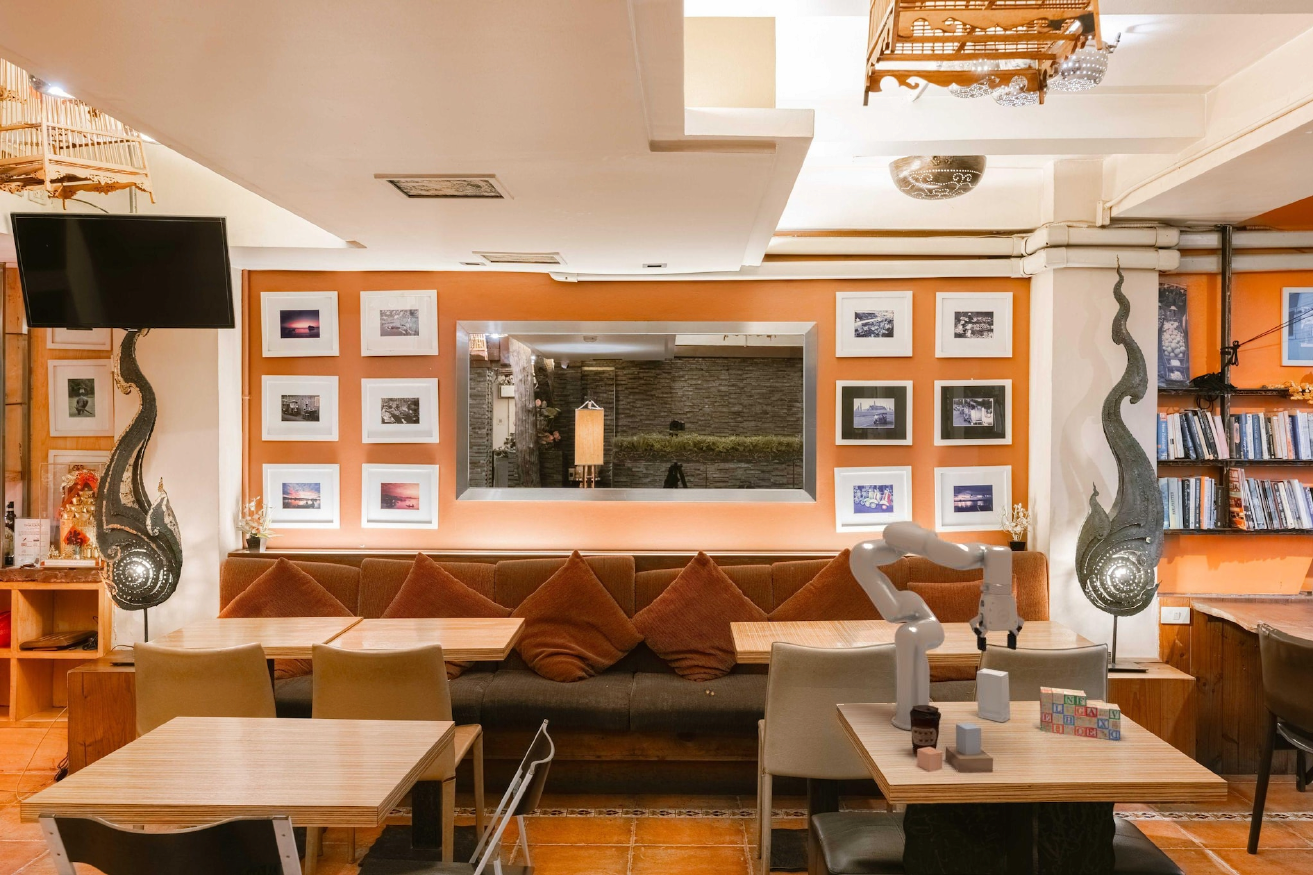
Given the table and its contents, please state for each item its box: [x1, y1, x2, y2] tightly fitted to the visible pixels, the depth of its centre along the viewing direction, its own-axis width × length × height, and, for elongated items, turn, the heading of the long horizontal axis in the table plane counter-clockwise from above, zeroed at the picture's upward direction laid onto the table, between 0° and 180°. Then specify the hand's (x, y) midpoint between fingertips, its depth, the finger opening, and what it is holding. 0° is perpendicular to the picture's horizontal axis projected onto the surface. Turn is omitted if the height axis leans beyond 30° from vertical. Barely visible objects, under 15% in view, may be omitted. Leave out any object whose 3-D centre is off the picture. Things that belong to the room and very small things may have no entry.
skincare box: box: [976, 667, 1011, 723], centre depth 268 cm, size 8×6×15 cm
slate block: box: [955, 722, 982, 755], centre depth 227 cm, size 4×4×7 cm
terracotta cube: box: [916, 747, 943, 772], centre depth 226 cm, size 4×4×4 cm
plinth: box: [944, 745, 994, 773], centre depth 227 cm, size 9×9×4 cm
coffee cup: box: [910, 704, 942, 756], centre depth 235 cm, size 9×8×13 cm
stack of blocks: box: [1039, 686, 1122, 741], centre depth 255 cm, size 21×6×12 cm, turn 69°
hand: (996, 649), depth 240 cm, fingers open, 9 cm apart
